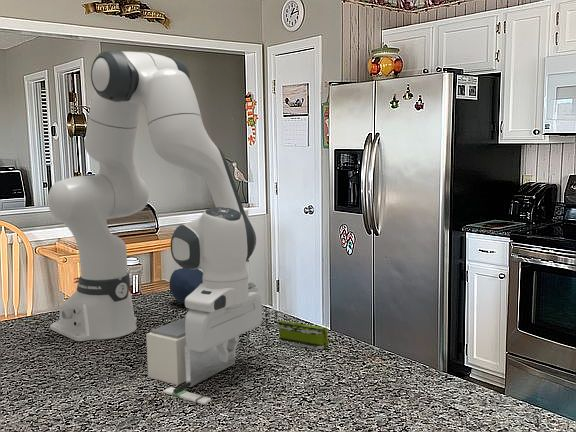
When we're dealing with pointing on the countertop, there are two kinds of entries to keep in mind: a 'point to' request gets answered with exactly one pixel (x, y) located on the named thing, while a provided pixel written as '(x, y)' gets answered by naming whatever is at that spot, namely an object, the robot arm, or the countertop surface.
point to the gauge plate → (202, 366)
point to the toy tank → (302, 334)
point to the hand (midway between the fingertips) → (227, 359)
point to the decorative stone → (184, 283)
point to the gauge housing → (170, 358)
